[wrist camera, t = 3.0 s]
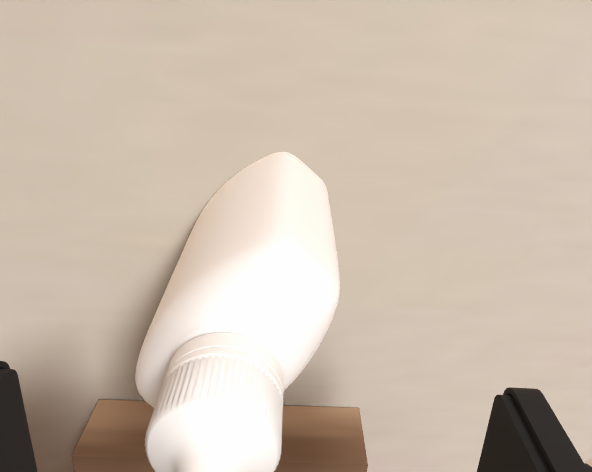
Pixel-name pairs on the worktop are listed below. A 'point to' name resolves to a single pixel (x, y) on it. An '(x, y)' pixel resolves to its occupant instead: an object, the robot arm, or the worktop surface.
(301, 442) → the walnut stand
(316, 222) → the eye dropper bottle
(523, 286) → the worktop surface
